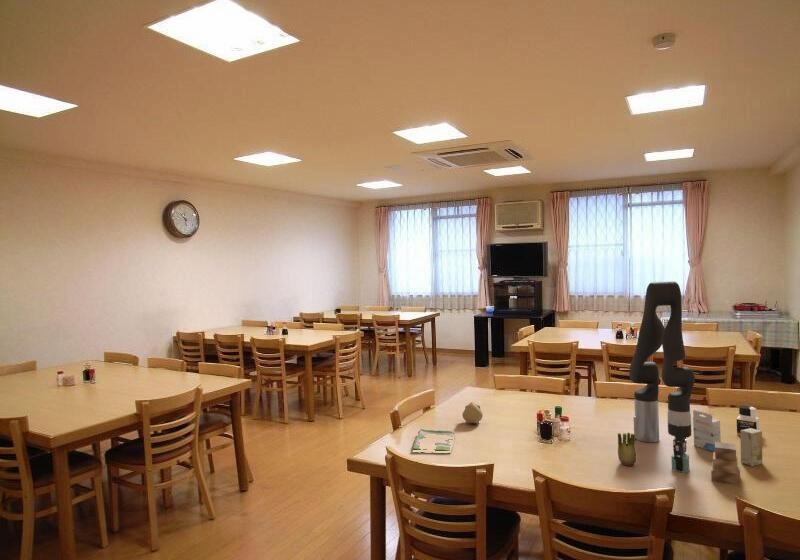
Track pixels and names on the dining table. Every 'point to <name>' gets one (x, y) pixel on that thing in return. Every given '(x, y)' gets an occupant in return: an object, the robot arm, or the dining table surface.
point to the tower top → (725, 451)
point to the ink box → (705, 430)
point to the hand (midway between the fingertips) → (680, 467)
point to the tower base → (726, 477)
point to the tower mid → (725, 465)
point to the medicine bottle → (747, 419)
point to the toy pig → (472, 413)
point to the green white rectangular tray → (439, 445)
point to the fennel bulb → (626, 449)
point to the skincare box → (751, 446)
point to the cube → (685, 462)
